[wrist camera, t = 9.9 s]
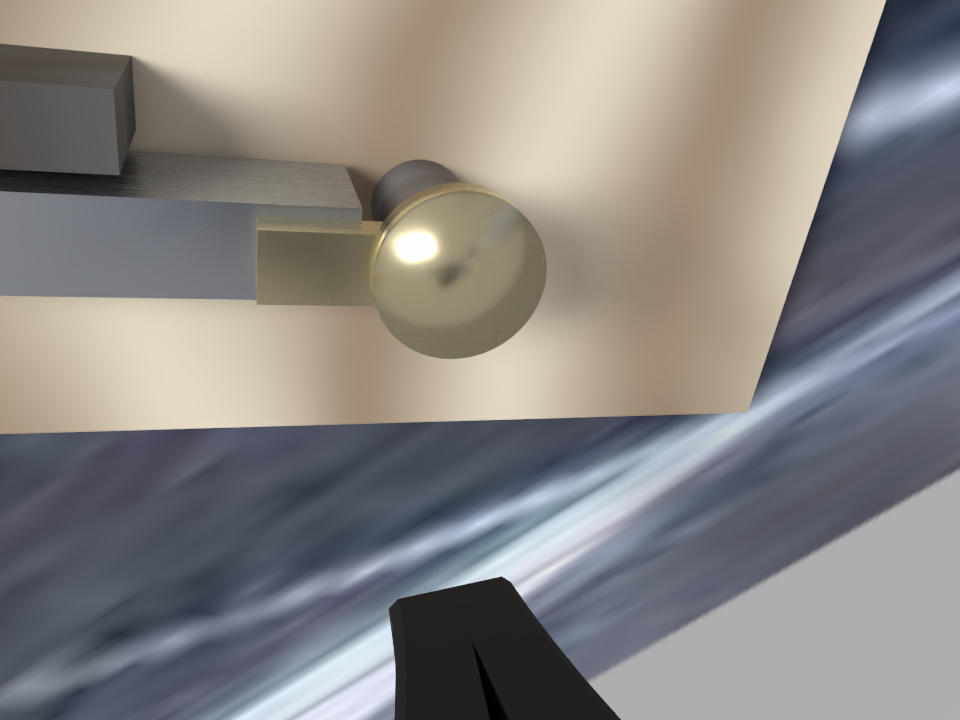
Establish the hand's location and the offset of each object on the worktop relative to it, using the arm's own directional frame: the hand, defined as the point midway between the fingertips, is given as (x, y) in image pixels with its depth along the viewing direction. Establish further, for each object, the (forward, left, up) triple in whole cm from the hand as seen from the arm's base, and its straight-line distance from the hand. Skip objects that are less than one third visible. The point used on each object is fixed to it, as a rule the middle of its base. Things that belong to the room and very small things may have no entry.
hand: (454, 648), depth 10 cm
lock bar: (+3, -2, -8) cm, 9 cm away
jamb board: (-1, -4, -9) cm, 10 cm away
